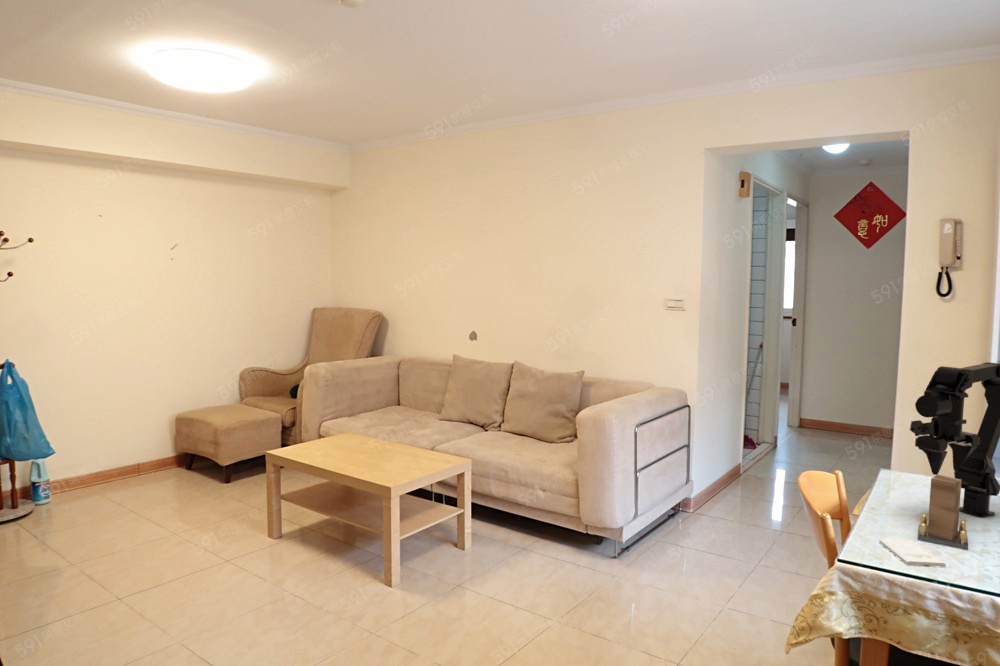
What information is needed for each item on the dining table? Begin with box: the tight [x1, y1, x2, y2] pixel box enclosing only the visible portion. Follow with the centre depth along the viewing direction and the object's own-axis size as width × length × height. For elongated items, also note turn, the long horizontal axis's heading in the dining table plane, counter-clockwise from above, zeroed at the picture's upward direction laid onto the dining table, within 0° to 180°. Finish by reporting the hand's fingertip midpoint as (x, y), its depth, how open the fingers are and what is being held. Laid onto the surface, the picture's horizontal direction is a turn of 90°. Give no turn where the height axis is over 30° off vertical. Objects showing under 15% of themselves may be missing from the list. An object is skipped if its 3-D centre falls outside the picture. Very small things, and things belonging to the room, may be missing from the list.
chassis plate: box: [916, 513, 969, 551], centre depth 158 cm, size 10×10×4 cm
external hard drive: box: [878, 538, 946, 568], centre depth 148 cm, size 2×8×12 cm
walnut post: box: [927, 474, 962, 540], centre depth 158 cm, size 5×5×14 cm
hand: (945, 472), depth 170 cm, fingers open, 9 cm apart
